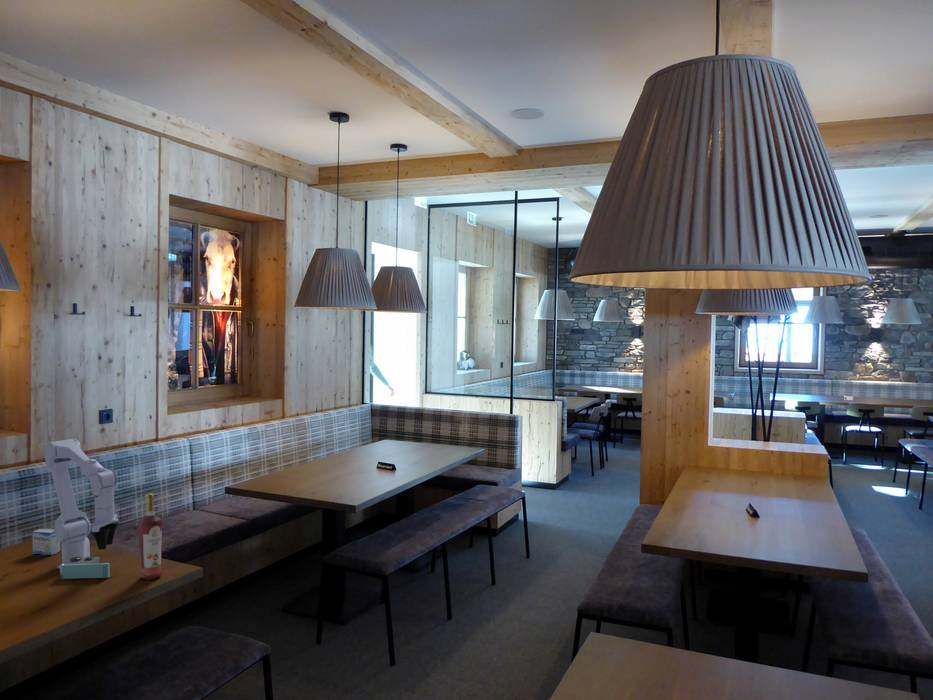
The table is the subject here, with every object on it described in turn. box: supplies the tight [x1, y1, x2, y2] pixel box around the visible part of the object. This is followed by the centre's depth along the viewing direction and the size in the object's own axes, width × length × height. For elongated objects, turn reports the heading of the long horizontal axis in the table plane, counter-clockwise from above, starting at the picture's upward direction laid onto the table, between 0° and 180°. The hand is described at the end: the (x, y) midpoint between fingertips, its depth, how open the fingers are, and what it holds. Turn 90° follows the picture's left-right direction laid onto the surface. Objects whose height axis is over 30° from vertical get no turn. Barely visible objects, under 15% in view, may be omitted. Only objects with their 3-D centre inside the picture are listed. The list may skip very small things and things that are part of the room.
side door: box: [59, 562, 111, 581], centre depth 226 cm, size 16×2×5 cm, turn 94°
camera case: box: [64, 555, 101, 564], centre depth 230 cm, size 7×9×5 cm
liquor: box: [137, 493, 163, 580], centre depth 226 cm, size 7×7×28 cm
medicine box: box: [32, 528, 61, 556], centre depth 251 cm, size 8×4×9 cm, turn 80°
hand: (105, 546), depth 230 cm, fingers open, 4 cm apart
